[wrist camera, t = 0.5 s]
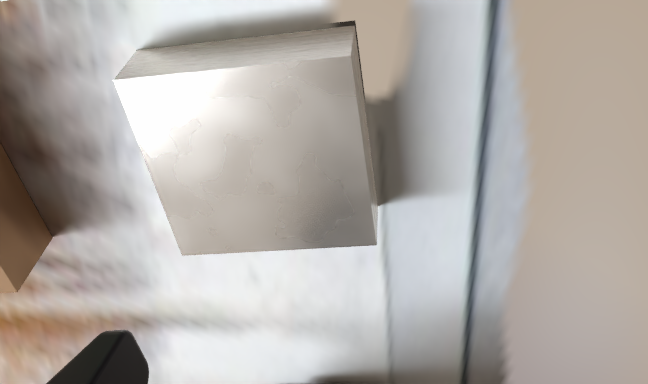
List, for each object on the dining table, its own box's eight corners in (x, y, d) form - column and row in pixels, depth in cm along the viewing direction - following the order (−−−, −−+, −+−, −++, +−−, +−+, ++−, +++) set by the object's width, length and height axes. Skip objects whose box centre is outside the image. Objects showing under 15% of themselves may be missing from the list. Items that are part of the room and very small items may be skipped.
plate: (378, 199, 23) (376, 245, 21) (199, 211, 24) (182, 255, 22) (355, 20, 19) (351, 55, 17) (140, 44, 20) (113, 80, 18)
